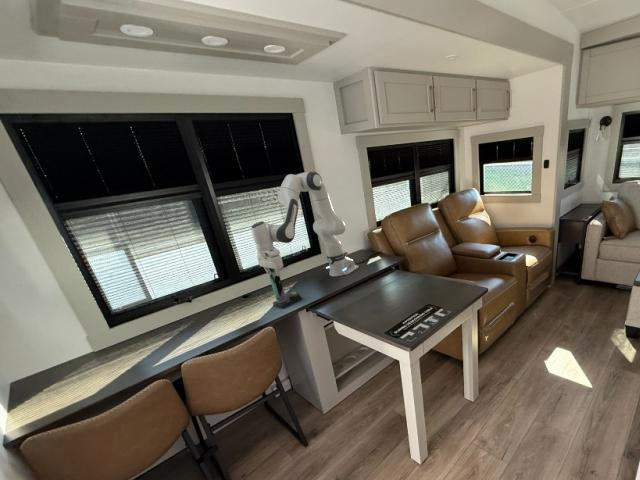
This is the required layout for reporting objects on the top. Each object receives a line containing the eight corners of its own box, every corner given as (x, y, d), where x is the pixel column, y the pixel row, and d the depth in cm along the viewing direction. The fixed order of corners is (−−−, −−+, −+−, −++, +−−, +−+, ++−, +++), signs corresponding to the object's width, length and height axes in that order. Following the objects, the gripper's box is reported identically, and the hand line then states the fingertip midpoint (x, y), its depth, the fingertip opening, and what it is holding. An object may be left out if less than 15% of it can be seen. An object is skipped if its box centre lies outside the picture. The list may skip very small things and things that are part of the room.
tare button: (294, 293, 190) (294, 291, 189) (298, 294, 188) (297, 291, 187) (290, 295, 188) (289, 293, 187) (293, 296, 186) (292, 293, 185)
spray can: (286, 301, 184) (276, 269, 177) (276, 303, 183) (266, 271, 176) (286, 297, 189) (277, 266, 182) (277, 299, 188) (267, 268, 181)
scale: (292, 296, 196) (291, 290, 194) (303, 299, 189) (301, 293, 188) (273, 305, 186) (271, 299, 185) (283, 309, 180) (281, 302, 178)
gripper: (251, 252, 179) (259, 274, 184) (271, 254, 166) (278, 278, 172) (262, 248, 183) (269, 270, 188) (281, 251, 171) (288, 274, 176)
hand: (273, 274), depth 180 cm, fingers open, 8 cm apart
